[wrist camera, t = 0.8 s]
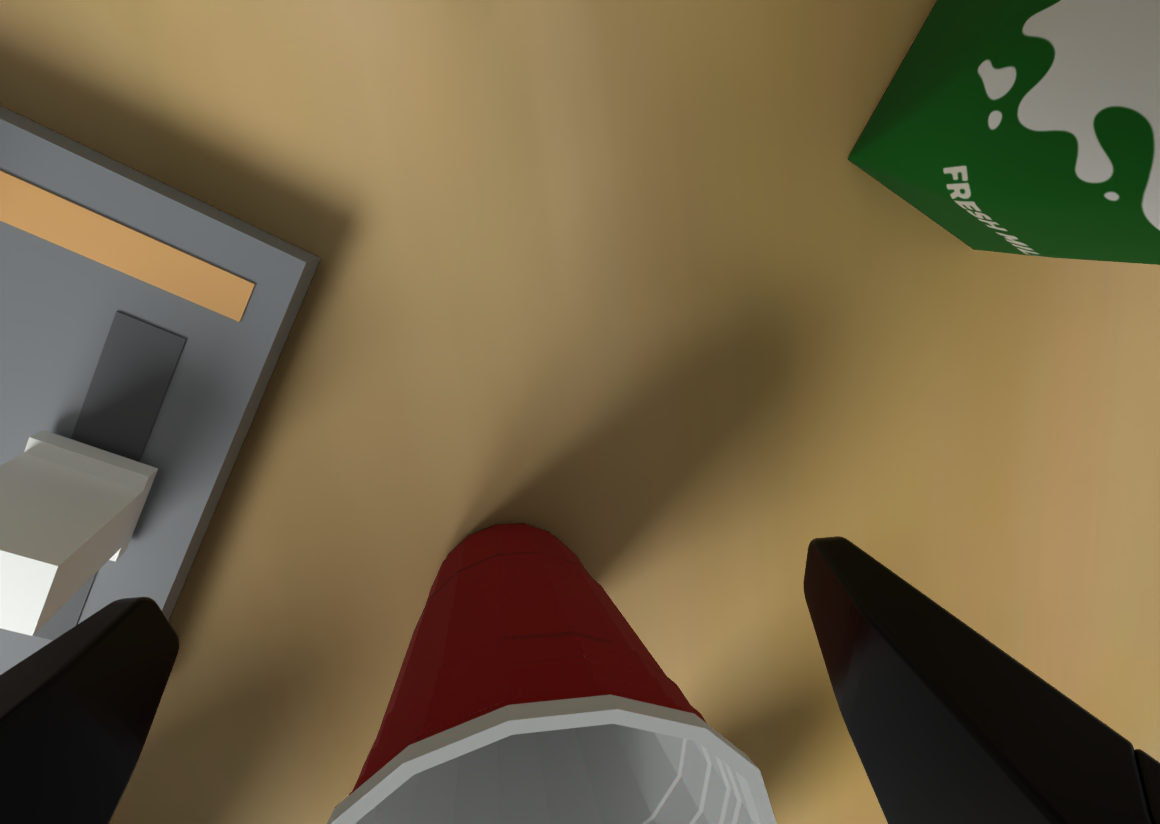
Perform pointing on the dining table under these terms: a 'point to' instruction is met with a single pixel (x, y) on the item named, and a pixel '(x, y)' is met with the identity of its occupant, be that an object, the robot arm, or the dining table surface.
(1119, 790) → the robot arm
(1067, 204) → the milk carton
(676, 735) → the plastic cup
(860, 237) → the dining table surface
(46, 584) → the block
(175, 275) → the breaker panel
